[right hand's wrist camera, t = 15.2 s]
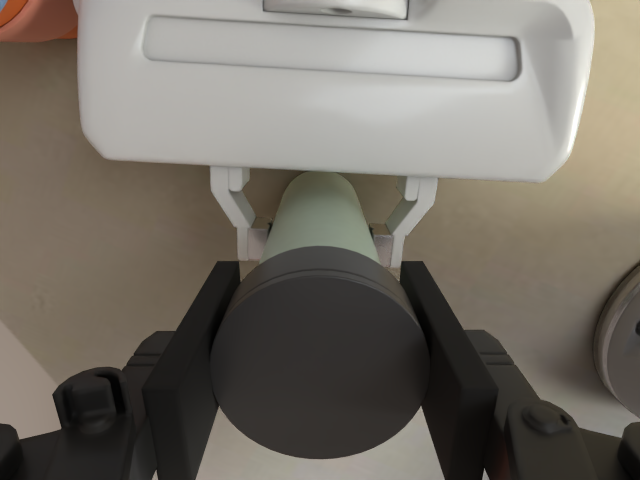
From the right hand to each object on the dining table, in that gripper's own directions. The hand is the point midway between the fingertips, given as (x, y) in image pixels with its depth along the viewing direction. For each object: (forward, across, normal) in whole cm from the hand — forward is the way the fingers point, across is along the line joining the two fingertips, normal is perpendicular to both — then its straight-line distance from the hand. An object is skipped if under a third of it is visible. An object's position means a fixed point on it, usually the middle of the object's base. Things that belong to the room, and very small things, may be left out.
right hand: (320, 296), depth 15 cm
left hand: (+5, 0, -1) cm, 6 cm away
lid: (-4, 0, 0) cm, 4 cm away
